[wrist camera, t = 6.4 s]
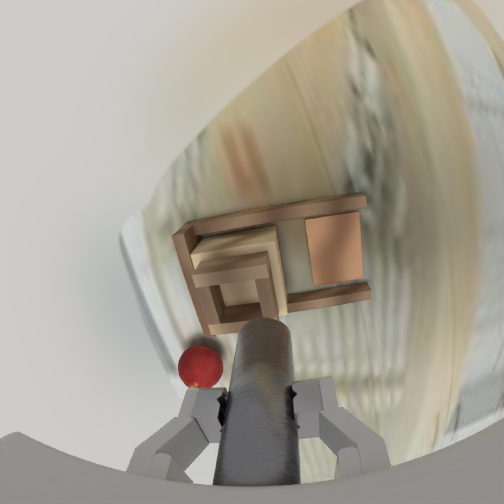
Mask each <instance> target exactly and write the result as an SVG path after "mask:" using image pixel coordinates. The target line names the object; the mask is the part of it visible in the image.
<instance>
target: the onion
mask: <svg viewBox="0 0 504 504" xmlns="http://www.w3.org/2000/svg"><path fill="white" fill-rule="evenodd" d="M178 371H179V376H180V378H181V380H182V381H183V382H184V384H185V385H186V386H188V387H189V388H211V387H212V386H214V385H215V384H216V383H217V382H218V381H219V379H220V378H221V376H222V373H223V362H222V360H221V358H220V356H219V355H218V353H216V352H215V351H214V350H212V349H210V348H208V347H205V346H193V347H190V348H189V349H187V350H186V351H184V353H183V354H182V356H181V357H180V360H179V363H178Z"/></svg>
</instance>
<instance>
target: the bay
mask: <svg viewBox="0 0 504 504" xmlns="http://www.w3.org/2000/svg"><path fill="white" fill-rule="evenodd" d="M360 208H367V199H366V195H364V194H362V193H361V192H360V193H353V194H346V195H339V196H332V197H325V198H318V199H312V200H305V201H299V202H293V203H287V204H281V205H275V206H269V207H263V208H257V209H252V210H246V211H241V212H235V213H230V214H225V215H219V216H214V217H209V218H204V219H199V220H194V221H189V222H186V223H185V224H184V225H183V226H182V227H181V228H180V229H179V230H178V231H177V232H176V233H175V234H174V235H173V236H172V238H173V241H174V245H175V248H176V251H177V255H178V258H179V261H180V264H181V268H182V271H183V274H184V277H185V280H186V283H187V286H188V289H189V292H190V295H191V298H192V301H193V304H194V307H195V310H196V313H197V316H198V319H199V322H200V324H201V327H202V330H203V333H204V335H205V337H212V336H215V335H211V332H210V329H209V326H208V324H207V321H206V318H205V315H204V312H203V309H202V306H201V303H200V300H199V296H198V293H197V290H196V287H195V284H194V281H193V278H192V274H193V273H194V271H195V269H194V266H193V262H192V259H191V256H190V255H191V253H192V252H193V251H194V249H195V248H196V246H197V245H198V244H199V242H200V241H201V240H202V237H201V235H202V234H207V233H213V232H218V231H224V230H229V229H235V228H241V227H246V226H252V225H258V224H264V223H270V222H276V221H282V220H288V219H294V218H300V217H307V216H313V215H320V214H326V213H333V212H339V211H346V210H353V209H360ZM305 225H306V232H307V239H308V246H309V253H310V261H311V269H312V277H313V285H314V286H319V285H325V284H331V283H337V282H343V281H349V280H354V279H360V278H363V261H362V243H361V229H360V217H359V211H355V212H348V213H342V214H335V215H328V216H322V217H316V218H309V219H305ZM368 299H371V289H370V287H369V285H368V284H367V282H364V283H358V284H353V285H347V286H341V287H335V288H329V289H323V290H317V291H311V292H304V293H298V294H291V295H287V307H288V313H290V312H297V311H304V310H310V309H316V308H323V307H329V306H335V305H341V304H346V303H352V302H357V301H363V300H368Z"/></svg>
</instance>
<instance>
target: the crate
mask: <svg viewBox="0 0 504 504" xmlns="http://www.w3.org/2000/svg"><path fill="white" fill-rule="evenodd" d="M190 256H191V259H192V262H193V266H194V269H195V271H194V273H193V274H192V278H193V281H194V284H195V287H196V290H197V293H198V296H199V300H200V303H201V306H202V309H203V312H204V315H205V318H206V321H207V324H208V326H209V329H210V332H211V335H217V334H228V333H239V331H240V329H241V328H242V326H243V325H244V324H245V323H247V322H248V321H250V320H253V319H256V318H262V317H267V318H273V319H276V320H278V321H279V317H280V316H288V307H287V290H286V284H285V278H284V272H283V267H282V261H281V255H280V250H279V244H278V239H277V233H276V228H275V225H274V226H268V227H262V228H256V229H250V230H244V231H239V232H233V233H227V234H221V235H216V236H210V237H205V238H202V240H201V241H200V242H199V244H198V245H197V246H196V248H195V249H194V251H193V252H192V253H191V255H190Z"/></svg>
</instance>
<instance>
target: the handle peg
mask: <svg viewBox="0 0 504 504" xmlns="http://www.w3.org/2000/svg"><path fill="white" fill-rule="evenodd" d="M292 382H295V377H294V365H293V352H292V341H291V333H290V331H289V329H288V328H287V326H286V325H285V324H283V323H282V322H280V321H278V320H276V319H273V318H267V317H262V318H256V319H253V320H250V321H248V322H247V323H245V324H244V325H243V326H242V328H241V329H240V331H239V334H238V340H237V345H236V351H235V357H234V363H233V369H232V375H231V380H230V386H229V392H228V398H227V404H226V409H225V415H224V421H223V427H222V433H221V438H220V444H219V450H218V456H217V462H216V468H215V473H214V479H213V485H217V486H280V485H294V484H301V479H300V456H299V437H298V425H297V423H296V421H295V417H294V404H293V399H294V397H293V388H292Z"/></svg>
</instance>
